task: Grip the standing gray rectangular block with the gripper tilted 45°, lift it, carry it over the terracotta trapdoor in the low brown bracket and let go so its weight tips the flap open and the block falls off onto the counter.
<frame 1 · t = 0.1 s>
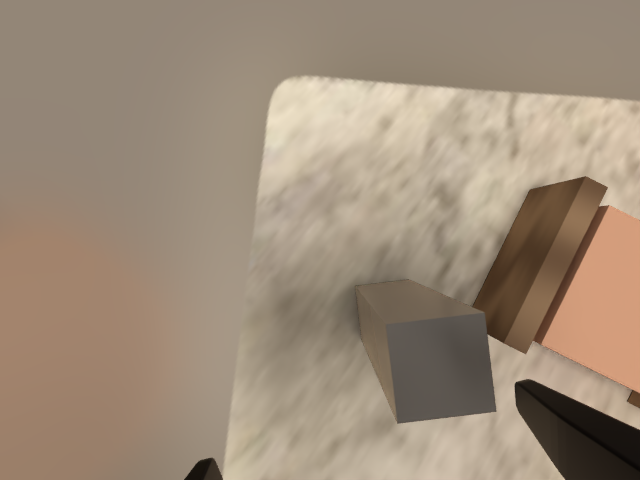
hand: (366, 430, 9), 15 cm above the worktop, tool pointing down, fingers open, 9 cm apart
brown bracket: (593, 289, 24), on the worktop
trapdoor: (625, 308, 21), point 3 cm above the worktop, hinge at 0.0°
gray rectangular block: (384, 309, 24), on the worktop
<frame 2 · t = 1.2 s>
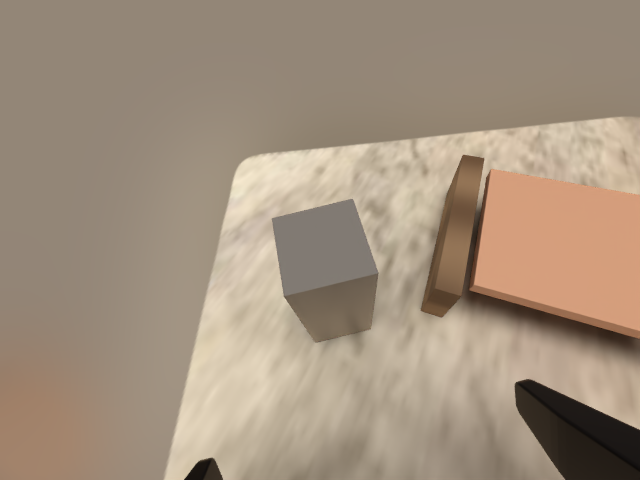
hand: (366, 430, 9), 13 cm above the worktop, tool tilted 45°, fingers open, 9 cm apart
brown bracket: (542, 262, 24), on the worktop
trapdoor: (564, 256, 21), point 3 cm above the worktop, hinge at 0.0°
gray rectangular block: (336, 308, 24), on the worktop
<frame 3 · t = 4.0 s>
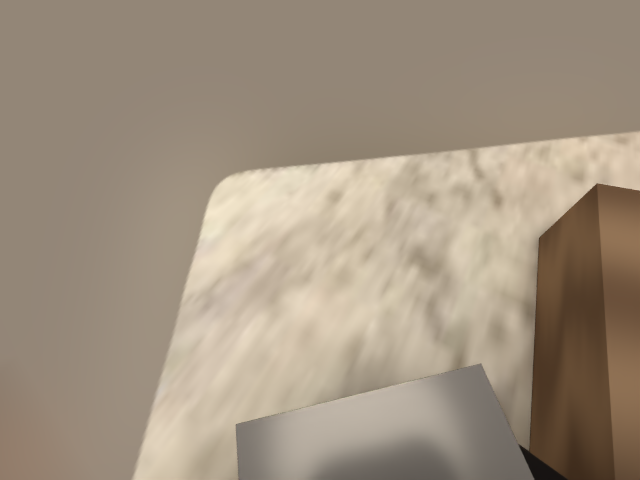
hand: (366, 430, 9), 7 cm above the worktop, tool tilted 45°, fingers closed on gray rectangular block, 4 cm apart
gray rectangular block: (372, 456, 14), on the worktop, touching gripper
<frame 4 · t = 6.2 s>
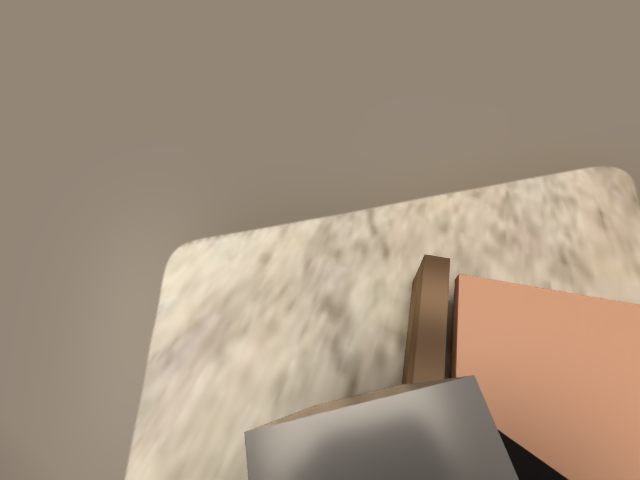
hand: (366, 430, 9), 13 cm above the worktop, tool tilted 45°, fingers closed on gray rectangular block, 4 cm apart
brown bracket: (529, 371, 20), on the worktop
trapdoor: (556, 384, 17), point 3 cm above the worktop, hinge at 0.0°
gray rectangular block: (369, 445, 14), point 6 cm above the worktop, touching gripper
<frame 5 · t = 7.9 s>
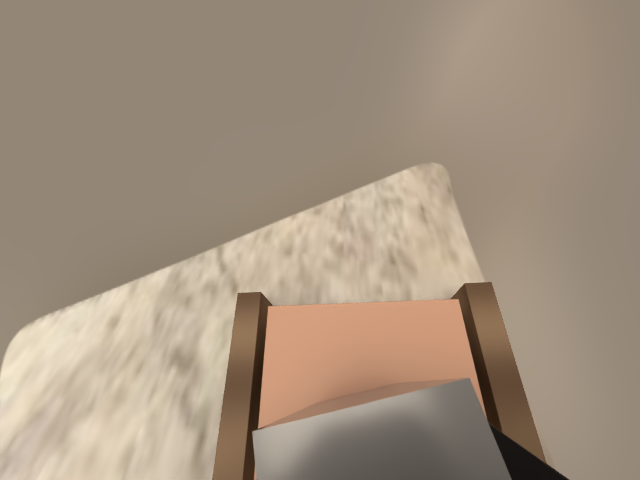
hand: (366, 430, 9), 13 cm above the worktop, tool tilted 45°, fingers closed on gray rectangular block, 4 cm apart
brown bracket: (364, 378, 21), on the worktop
trapdoor: (365, 392, 18), point 3 cm above the worktop, hinge at 0.0°
gray rectangular block: (369, 441, 15), point 6 cm above the worktop, touching gripper
when the fingers open (13 cm above the worktop, at t = 8.5 s): gray rectangular block drops 2 cm and tips over, resting on trapdoor.
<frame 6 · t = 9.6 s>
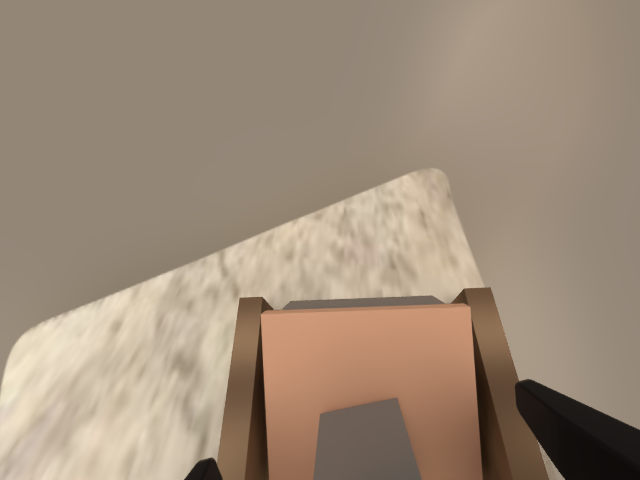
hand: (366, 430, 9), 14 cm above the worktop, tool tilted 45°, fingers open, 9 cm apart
brown bracket: (364, 382, 21), on the worktop
trapdoor: (365, 382, 19), point 3 cm above the worktop, hinge at -28.2°, touching gray rectangular block
gray rectangular block: (368, 441, 17), point 4 cm above the worktop, tilted 35°, touching trapdoor
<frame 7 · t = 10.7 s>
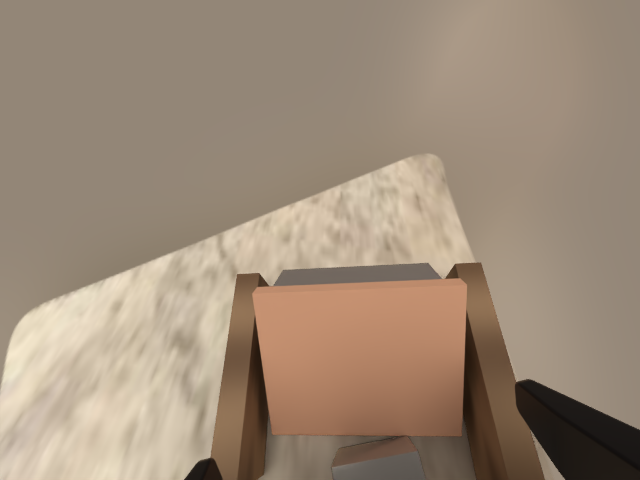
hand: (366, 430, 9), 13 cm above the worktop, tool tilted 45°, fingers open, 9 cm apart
brown bracket: (358, 357, 22), on the worktop
trapdoor: (358, 347, 20), point 3 cm above the worktop, hinge at -42.5°, touching gray rectangular block
gray rectangular block: (373, 449, 17), point 3 cm above the worktop, tilted 94°, touching trapdoor
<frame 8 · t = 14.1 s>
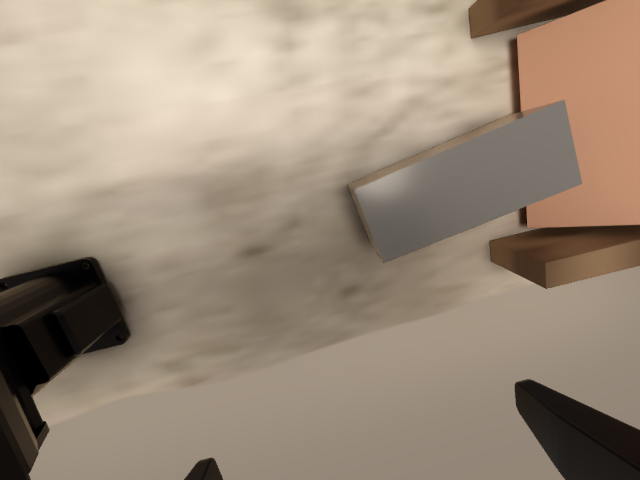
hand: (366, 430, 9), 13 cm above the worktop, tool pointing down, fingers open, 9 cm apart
brown bracket: (582, 123, 20), on the worktop
trapdoor: (630, 115, 17), point 3 cm above the worktop, hinge at -42.9°, touching gray rectangular block
gray rectangular block: (541, 146, 17), point 3 cm above the worktop, tilted 94°, touching trapdoor
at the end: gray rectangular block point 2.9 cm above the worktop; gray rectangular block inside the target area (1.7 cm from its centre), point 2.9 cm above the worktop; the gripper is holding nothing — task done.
